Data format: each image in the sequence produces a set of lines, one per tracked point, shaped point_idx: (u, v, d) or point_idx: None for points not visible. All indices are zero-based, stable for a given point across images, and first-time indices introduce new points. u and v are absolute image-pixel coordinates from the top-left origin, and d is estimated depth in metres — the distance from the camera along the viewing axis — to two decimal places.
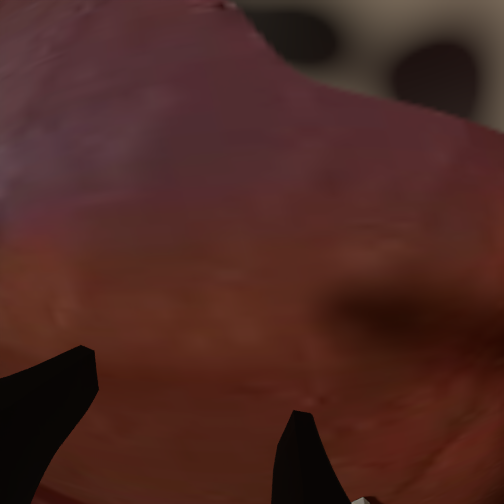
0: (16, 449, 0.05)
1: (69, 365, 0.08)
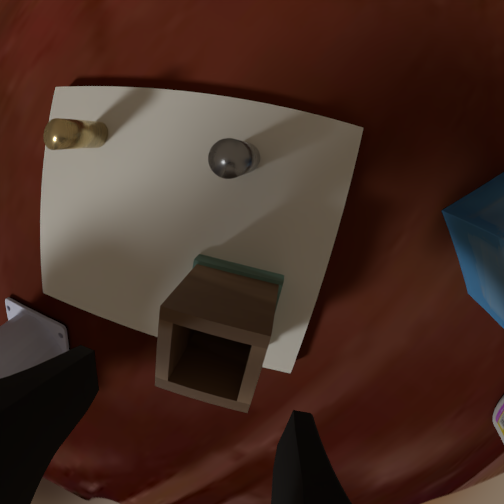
0: (16, 449, 0.05)
1: (69, 365, 0.08)
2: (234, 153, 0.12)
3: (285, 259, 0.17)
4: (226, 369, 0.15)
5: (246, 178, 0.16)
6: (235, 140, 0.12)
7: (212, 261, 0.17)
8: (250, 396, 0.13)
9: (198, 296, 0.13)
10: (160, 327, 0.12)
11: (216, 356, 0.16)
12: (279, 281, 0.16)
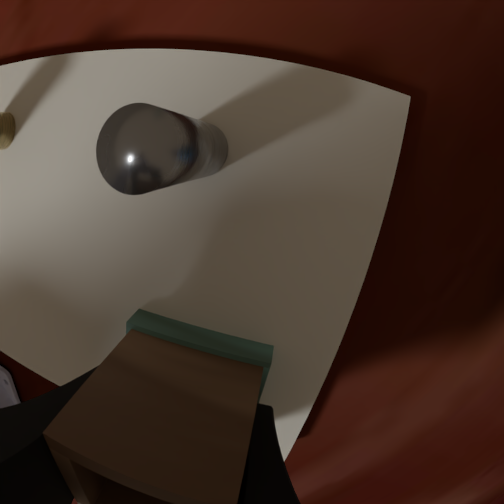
0: (52, 473, 0.05)
1: None
2: (146, 136, 0.05)
3: (275, 322, 0.10)
4: None
5: (205, 186, 0.09)
6: (148, 106, 0.05)
7: (156, 324, 0.10)
8: None
9: (113, 409, 0.06)
10: (55, 456, 0.05)
11: None
12: (264, 362, 0.09)
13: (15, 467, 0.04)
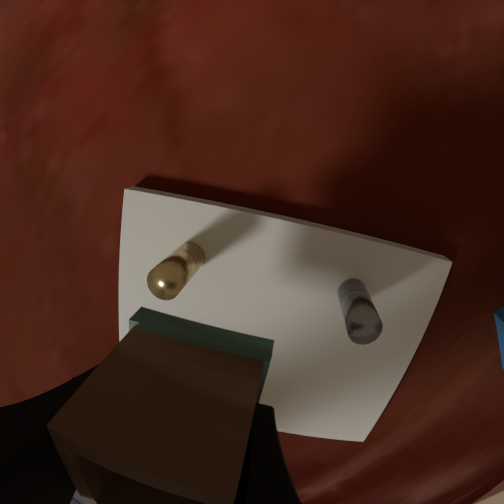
0: (51, 472, 0.05)
1: None
2: (371, 325, 0.13)
3: (374, 368, 0.18)
4: None
5: None
6: (373, 315, 0.13)
7: (158, 321, 0.10)
8: None
9: (115, 402, 0.07)
10: (59, 450, 0.05)
11: None
12: (264, 355, 0.10)
13: (14, 466, 0.04)
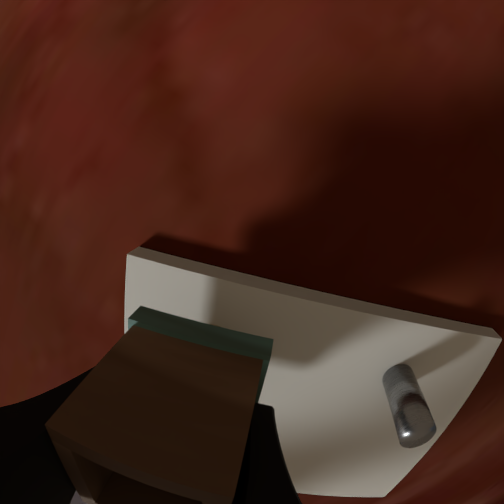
0: (51, 472, 0.05)
1: None
2: (425, 432, 0.09)
3: None
4: None
5: None
6: (430, 423, 0.09)
7: (157, 320, 0.10)
8: None
9: (114, 401, 0.07)
10: (58, 449, 0.05)
11: None
12: (264, 354, 0.09)
13: (14, 466, 0.04)
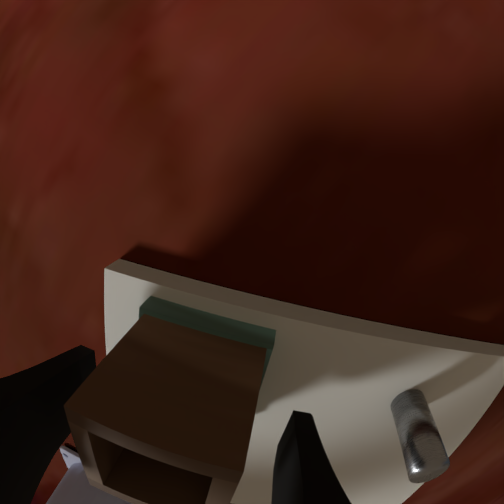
0: (16, 449, 0.05)
1: (69, 365, 0.08)
2: (437, 467, 0.08)
3: None
4: None
5: None
6: (443, 459, 0.07)
7: (167, 309, 0.11)
8: None
9: (130, 384, 0.07)
10: (73, 430, 0.06)
11: None
12: (267, 343, 0.10)
13: None
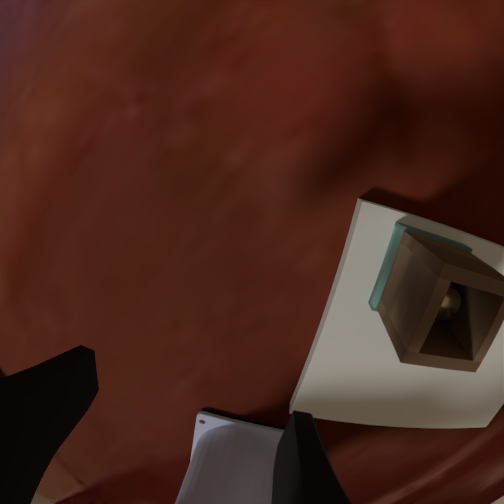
0: (16, 449, 0.05)
1: (69, 365, 0.08)
2: None
3: None
4: (444, 336, 0.13)
5: None
6: None
7: (414, 228, 0.15)
8: (485, 352, 0.11)
9: (449, 256, 0.11)
10: (436, 288, 0.10)
11: None
12: (469, 248, 0.14)
13: None
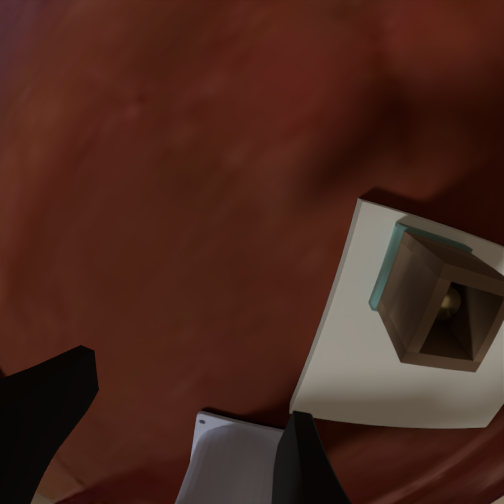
0: (16, 449, 0.05)
1: (70, 365, 0.08)
2: None
3: None
4: (444, 336, 0.13)
5: None
6: None
7: (414, 228, 0.15)
8: (485, 352, 0.11)
9: (449, 256, 0.11)
10: (436, 288, 0.10)
11: None
12: (469, 248, 0.14)
13: None
